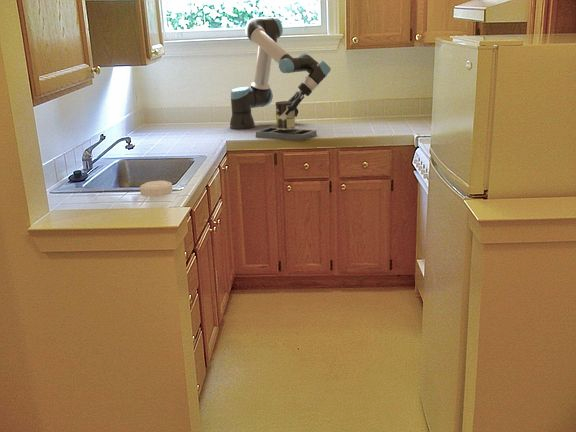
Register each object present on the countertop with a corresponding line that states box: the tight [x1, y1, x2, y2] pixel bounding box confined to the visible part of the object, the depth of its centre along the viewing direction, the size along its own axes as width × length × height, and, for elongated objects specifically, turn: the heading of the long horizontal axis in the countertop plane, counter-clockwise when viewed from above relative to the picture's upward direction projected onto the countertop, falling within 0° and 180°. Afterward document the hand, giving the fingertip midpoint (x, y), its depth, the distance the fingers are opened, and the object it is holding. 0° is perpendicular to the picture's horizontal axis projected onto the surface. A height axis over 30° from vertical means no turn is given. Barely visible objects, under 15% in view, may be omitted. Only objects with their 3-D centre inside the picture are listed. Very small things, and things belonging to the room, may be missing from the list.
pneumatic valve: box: [294, 106, 299, 118], centre depth 373 cm, size 6×12×12 cm, turn 41°
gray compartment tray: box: [255, 126, 318, 141], centre depth 334 cm, size 30×15×3 cm, turn 59°
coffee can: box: [275, 100, 296, 130], centre depth 331 cm, size 10×10×14 cm
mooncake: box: [139, 179, 173, 197], centre depth 232 cm, size 12×12×4 cm
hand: (280, 117), depth 331 cm, fingers closed on coffee can, 10 cm apart
